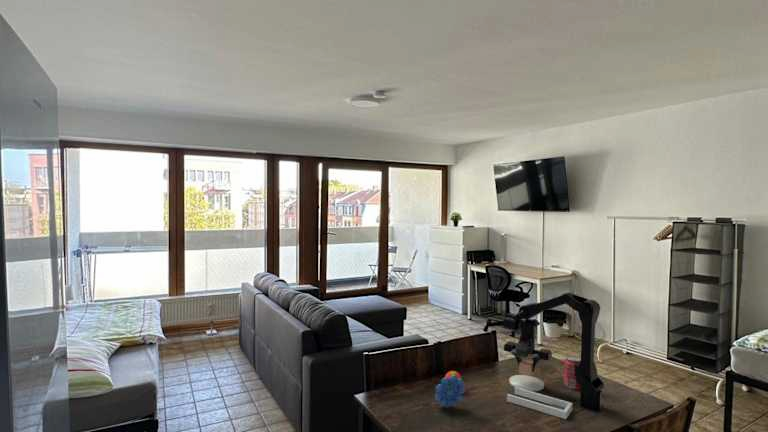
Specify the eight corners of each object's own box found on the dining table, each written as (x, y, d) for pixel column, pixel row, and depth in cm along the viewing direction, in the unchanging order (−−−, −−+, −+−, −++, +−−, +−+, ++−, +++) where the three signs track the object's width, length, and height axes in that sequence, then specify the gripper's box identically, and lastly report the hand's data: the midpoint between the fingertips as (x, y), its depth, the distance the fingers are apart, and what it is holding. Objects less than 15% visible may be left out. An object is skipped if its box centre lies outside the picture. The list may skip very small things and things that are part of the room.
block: (534, 372, 176) (534, 362, 176) (530, 376, 172) (531, 365, 172) (523, 369, 179) (523, 359, 179) (518, 373, 176) (519, 362, 175)
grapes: (461, 401, 160) (462, 370, 160) (466, 409, 153) (467, 377, 153) (431, 402, 159) (432, 371, 158) (435, 410, 152) (436, 378, 152)
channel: (572, 409, 154) (572, 403, 154) (565, 419, 147) (565, 412, 147) (515, 393, 167) (515, 386, 167) (506, 401, 160) (507, 394, 160)
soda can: (578, 383, 177) (579, 355, 177) (584, 390, 170) (585, 361, 170) (561, 382, 178) (561, 354, 178) (566, 389, 171) (567, 361, 171)
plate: (548, 383, 177) (548, 380, 177) (537, 394, 166) (537, 392, 166) (516, 374, 186) (516, 372, 186) (504, 384, 175) (504, 382, 175)
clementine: (461, 393, 166) (461, 376, 166) (443, 392, 167) (444, 374, 167) (461, 385, 174) (462, 368, 174) (445, 383, 175) (445, 367, 175)
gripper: (498, 334, 175) (498, 370, 175) (544, 343, 164) (543, 382, 164) (508, 328, 184) (508, 363, 184) (552, 336, 172) (551, 374, 173)
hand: (526, 370), depth 176 cm, fingers closed on block, 5 cm apart
